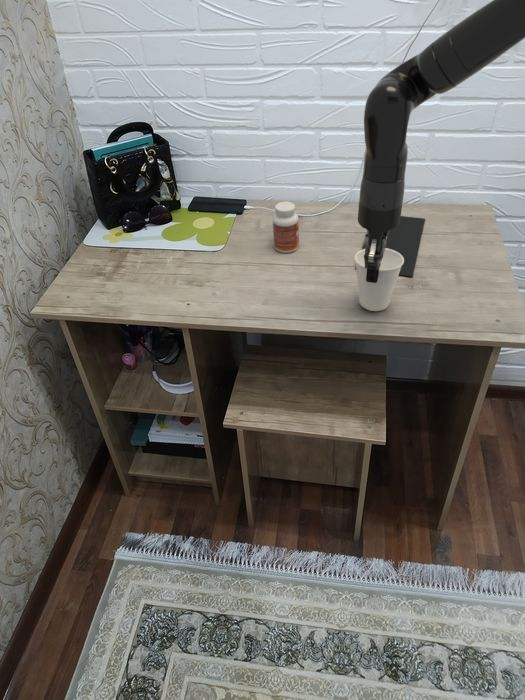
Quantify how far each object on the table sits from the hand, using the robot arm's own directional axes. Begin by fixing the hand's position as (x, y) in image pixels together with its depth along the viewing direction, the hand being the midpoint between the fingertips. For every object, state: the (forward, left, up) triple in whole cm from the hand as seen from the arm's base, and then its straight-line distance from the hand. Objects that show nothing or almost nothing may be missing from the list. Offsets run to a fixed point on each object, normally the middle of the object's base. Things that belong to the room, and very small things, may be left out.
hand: (371, 280), depth 111 cm
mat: (+27, -14, -10) cm, 32 cm away
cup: (+5, -3, -10) cm, 12 cm away
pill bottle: (+32, +11, -11) cm, 35 cm away
